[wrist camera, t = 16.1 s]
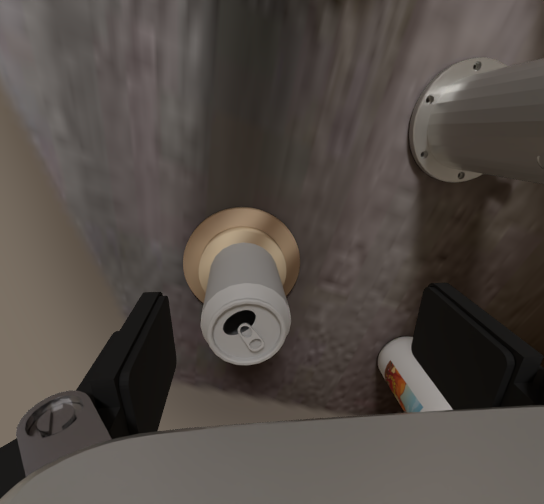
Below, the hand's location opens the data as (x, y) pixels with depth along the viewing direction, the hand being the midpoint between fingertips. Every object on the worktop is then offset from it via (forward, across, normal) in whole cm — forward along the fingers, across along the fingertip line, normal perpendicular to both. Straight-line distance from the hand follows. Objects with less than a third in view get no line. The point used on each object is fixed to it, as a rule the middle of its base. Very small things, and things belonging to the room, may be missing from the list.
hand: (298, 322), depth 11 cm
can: (+23, +2, +8) cm, 24 cm away
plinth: (+25, +2, +9) cm, 27 cm away
